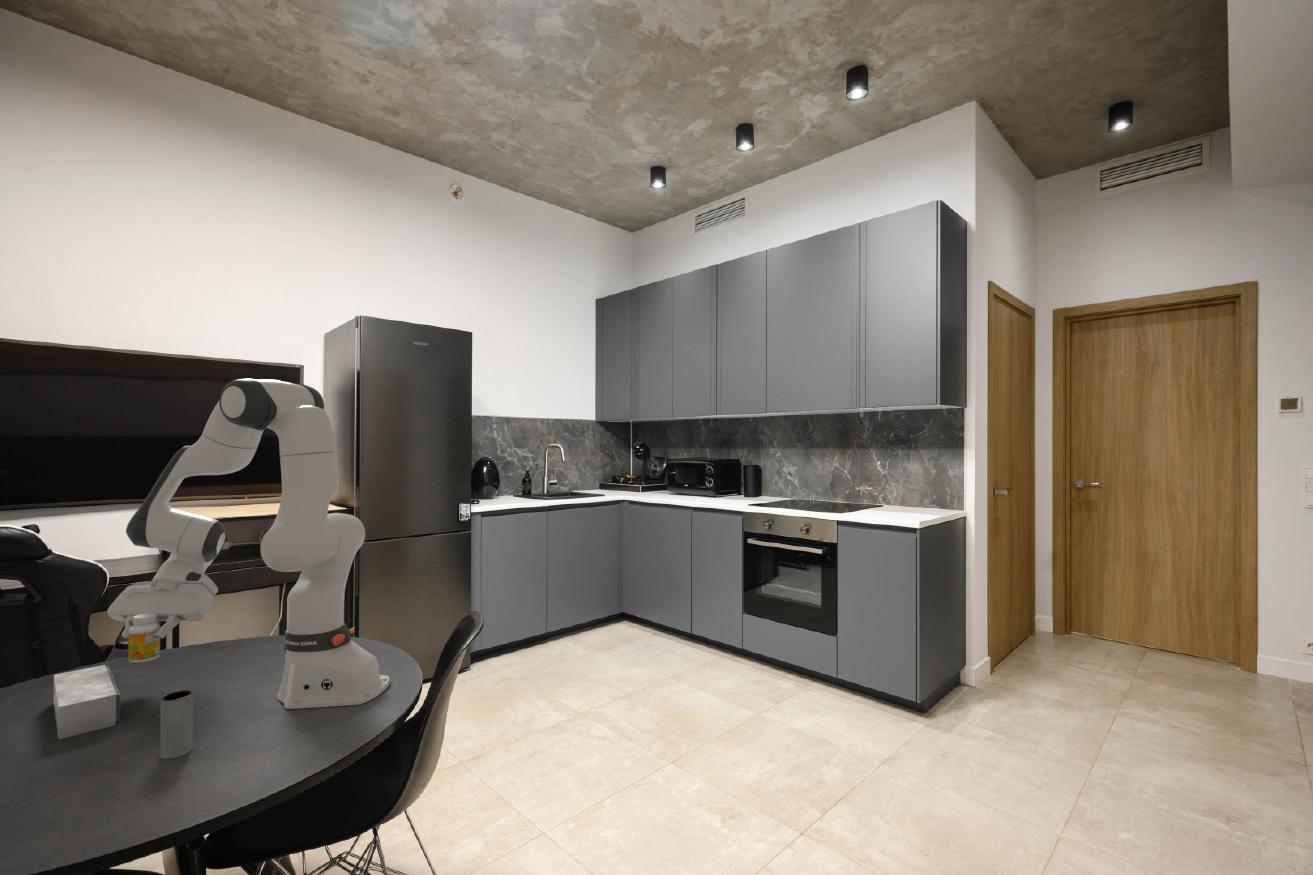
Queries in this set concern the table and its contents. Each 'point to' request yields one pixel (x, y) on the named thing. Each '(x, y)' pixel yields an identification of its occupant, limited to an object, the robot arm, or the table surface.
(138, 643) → the supplement bottle
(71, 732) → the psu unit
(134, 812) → the table surface
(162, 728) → the planter
